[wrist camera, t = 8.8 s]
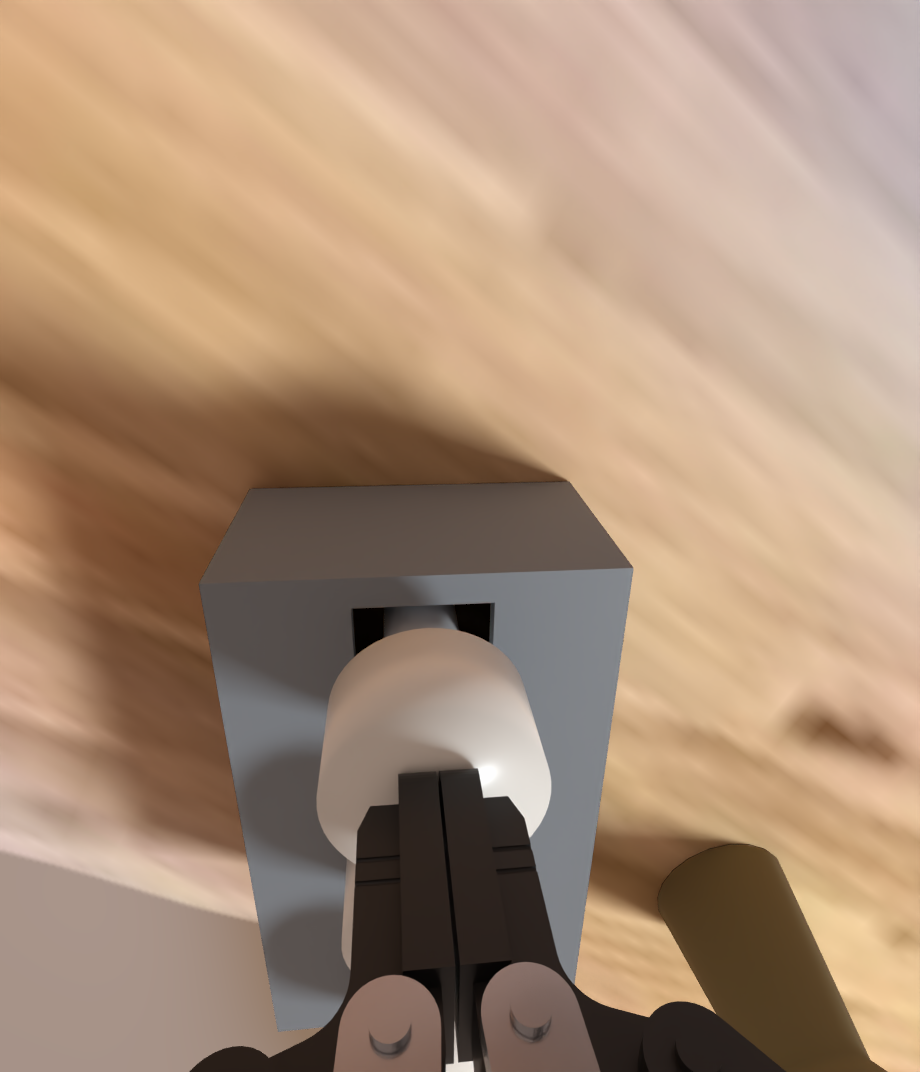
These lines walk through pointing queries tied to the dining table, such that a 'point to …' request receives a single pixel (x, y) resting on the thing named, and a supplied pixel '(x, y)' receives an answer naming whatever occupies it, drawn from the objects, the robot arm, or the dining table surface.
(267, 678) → the mount block
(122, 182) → the dining table surface
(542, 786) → the knob near
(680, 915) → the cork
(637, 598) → the dining table surface
